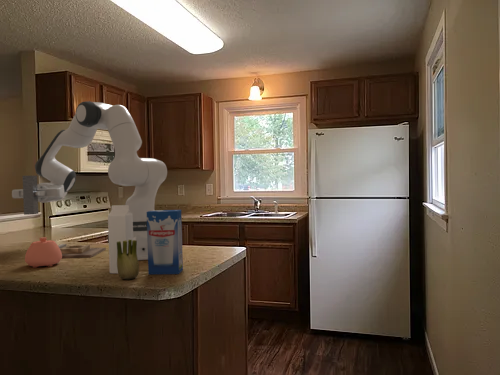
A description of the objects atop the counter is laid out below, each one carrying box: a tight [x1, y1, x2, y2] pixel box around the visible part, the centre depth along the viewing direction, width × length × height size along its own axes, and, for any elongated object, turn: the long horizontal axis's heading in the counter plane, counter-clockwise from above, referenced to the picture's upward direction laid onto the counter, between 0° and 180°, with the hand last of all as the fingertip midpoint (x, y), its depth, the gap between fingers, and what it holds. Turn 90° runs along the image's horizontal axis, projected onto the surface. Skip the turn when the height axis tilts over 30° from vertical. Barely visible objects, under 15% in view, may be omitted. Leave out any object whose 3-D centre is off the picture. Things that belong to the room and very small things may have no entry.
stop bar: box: [22, 175, 39, 216], centre depth 178 cm, size 4×4×16 cm
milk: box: [107, 204, 133, 274], centre depth 141 cm, size 6×6×22 cm
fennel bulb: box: [117, 239, 140, 280], centre depth 130 cm, size 6×5×12 cm
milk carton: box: [147, 209, 184, 275], centre depth 138 cm, size 10×6×20 cm, turn 87°
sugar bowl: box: [24, 236, 63, 269], centre depth 156 cm, size 12×14×10 cm
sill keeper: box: [57, 243, 107, 259], centre depth 178 cm, size 22×18×3 cm
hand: (29, 193), depth 177 cm, fingers closed on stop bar, 4 cm apart
